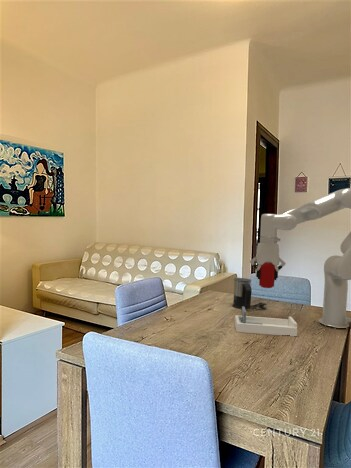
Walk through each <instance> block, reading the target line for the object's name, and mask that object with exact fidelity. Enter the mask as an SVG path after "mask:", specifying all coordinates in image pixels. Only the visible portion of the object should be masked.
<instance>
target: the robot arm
mask: <svg viewBox="0 0 351 468" xmlns="http://www.w3.org/2000/svg"><path fill="white" fill-rule="evenodd" d="M344 209H350V210H351V188H350V187H346V188H341V189H338V190H336V191H333V192H330V193H328V194H326V195H324V196H321V197H319V198H316V199H314V200H312V201H308V202H307V203H304V204H303V205H301V206H298V207H295V208H293V209H290V210H287V211H285V212H284V213H282V214H281V213H280V214H276V213H262V214H261V217H260V234H259V235H260V236H259V238H260V239H259V242H258V243H257V247H256V256H254V257H253V258H252V259H251V260H250V261H249V263H250V264H251V266H252V267H253V268H254V269H255V270H256V278H257V280H259V279H260V267H261V265H263V264H264V263H265V262H272V263H273V265H274V266H275V279H274V281H277V279H278V277H279V271H280V270H281V269H282V268H284V267H285V266H286V262H285V261H284V260H283V259H282V258H281V257H280V246H279V243H278V242H281V238H279V237H278V232H279V231H278V230H281V231H292V230H294V229H295V228H296V227H297V226H298V225H299V224H301V223H305V222H309V221H315V220H318V219H322V218H324V217H326V216H329V215H331V214H333V213H336V212H339V211H341V210H344ZM339 249H340V252H341V253H342V255H331V256H329V257H327V258H326V260H325V262H324V265H323V275H324V287H323V303H322V317H321V318H319V319H318V321H319V322H320V323H322V324H324V325H328V326H333V327H350V323H351V317H350V316H347V305H348V304H347V303H348V292H349V291H348V289H349V287H348V286H349V284H348V281H350V280H351V231H350V232H348V233H347V236H346V237H345V238H344V239H343V240H342V242H341V244H340V247H339ZM319 322H318V323H319ZM320 323H319V324H320Z"/></svg>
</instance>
